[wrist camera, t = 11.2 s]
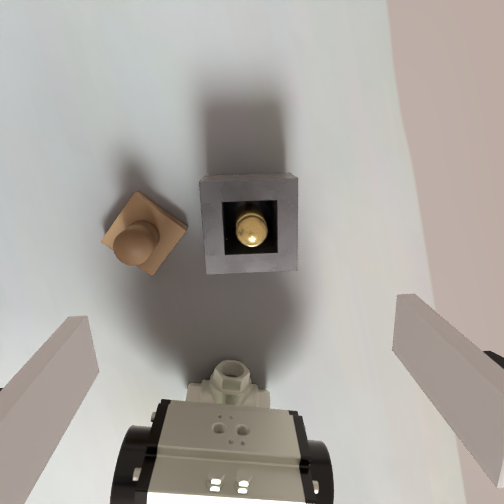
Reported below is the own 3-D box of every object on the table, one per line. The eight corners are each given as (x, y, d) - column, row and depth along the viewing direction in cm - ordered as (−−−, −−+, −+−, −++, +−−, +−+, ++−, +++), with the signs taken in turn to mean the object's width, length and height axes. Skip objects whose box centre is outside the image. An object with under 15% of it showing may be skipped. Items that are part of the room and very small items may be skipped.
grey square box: (210, 256, 36) (206, 274, 31) (204, 175, 33) (199, 181, 28) (289, 252, 36) (297, 270, 31) (289, 172, 33) (298, 178, 29)
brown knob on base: (106, 237, 36) (83, 254, 31) (138, 191, 35) (120, 200, 30) (155, 270, 37) (141, 292, 32) (188, 227, 36) (179, 242, 31)
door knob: (204, 218, 36) (194, 242, 27) (243, 167, 34) (245, 176, 26) (254, 254, 37) (258, 287, 29) (292, 207, 36) (309, 227, 27)
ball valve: (308, 362, 42) (357, 515, 25) (295, 420, 44) (331, 594, 27) (154, 347, 40) (94, 497, 23) (150, 407, 43) (93, 583, 26)
